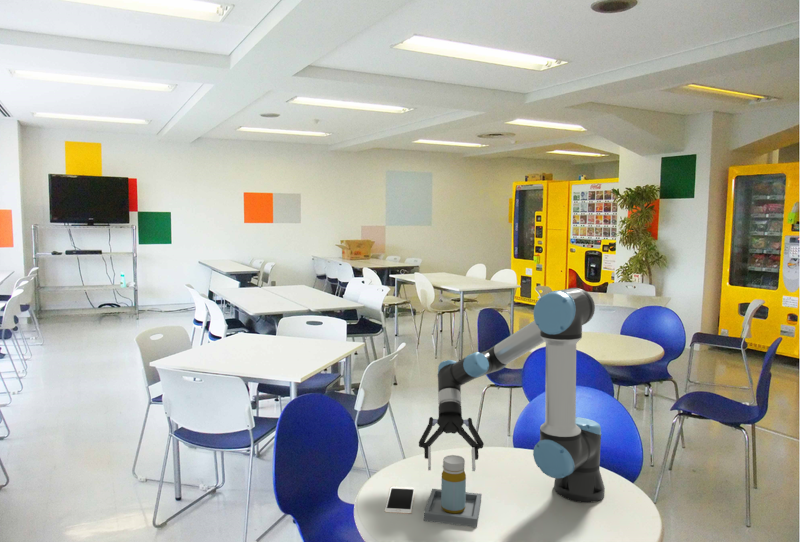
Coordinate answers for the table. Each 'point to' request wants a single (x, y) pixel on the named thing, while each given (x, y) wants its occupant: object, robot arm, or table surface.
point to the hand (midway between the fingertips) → (451, 469)
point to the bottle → (453, 484)
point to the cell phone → (400, 500)
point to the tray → (464, 518)
